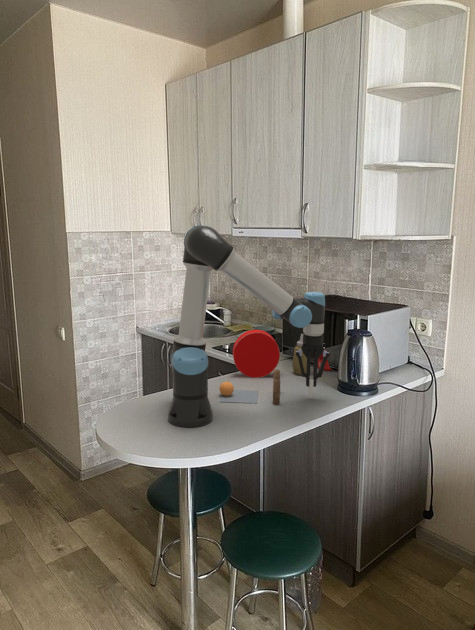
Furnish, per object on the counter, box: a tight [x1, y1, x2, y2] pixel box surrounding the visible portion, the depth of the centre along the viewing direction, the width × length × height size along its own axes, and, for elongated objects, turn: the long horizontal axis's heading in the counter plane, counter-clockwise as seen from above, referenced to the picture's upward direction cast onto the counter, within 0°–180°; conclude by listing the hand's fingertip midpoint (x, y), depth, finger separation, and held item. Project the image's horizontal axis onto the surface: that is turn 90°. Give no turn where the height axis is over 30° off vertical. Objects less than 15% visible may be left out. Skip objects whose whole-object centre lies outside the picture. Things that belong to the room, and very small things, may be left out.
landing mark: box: [219, 389, 260, 405], centre depth 192 cm, size 14×14×1 cm
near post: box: [272, 379, 281, 406], centre depth 184 cm, size 3×3×9 cm
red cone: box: [317, 347, 333, 372], centre depth 229 cm, size 8×8×11 cm
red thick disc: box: [232, 329, 281, 379], centre depth 216 cm, size 20×6×20 cm, turn 93°
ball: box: [218, 381, 235, 396], centre depth 192 cm, size 6×6×6 cm
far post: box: [272, 368, 281, 381], centre depth 196 cm, size 3×3×9 cm
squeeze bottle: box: [291, 333, 311, 376], centre depth 221 cm, size 8×8×18 cm
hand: (310, 394), depth 189 cm, fingers closed
